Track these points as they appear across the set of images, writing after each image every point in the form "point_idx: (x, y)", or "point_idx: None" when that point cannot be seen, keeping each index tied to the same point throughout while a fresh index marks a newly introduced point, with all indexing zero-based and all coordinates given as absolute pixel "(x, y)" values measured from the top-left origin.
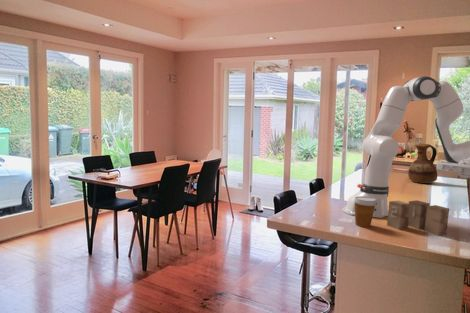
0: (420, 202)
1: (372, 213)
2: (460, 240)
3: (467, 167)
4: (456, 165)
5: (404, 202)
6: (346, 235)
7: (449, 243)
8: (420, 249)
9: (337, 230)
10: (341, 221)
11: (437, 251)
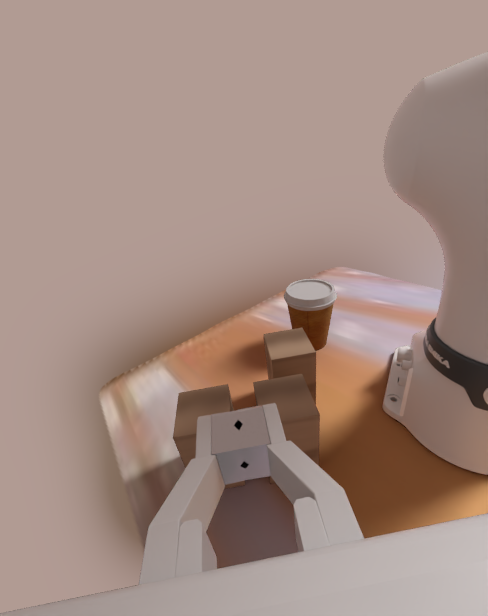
0: (281, 400)
1: (292, 321)
2: (139, 481)
3: (31, 608)
4: (269, 558)
5: (286, 353)
6: (259, 305)
7: (148, 427)
8: (166, 355)
9: (283, 304)
10: (336, 321)
11: (144, 372)
